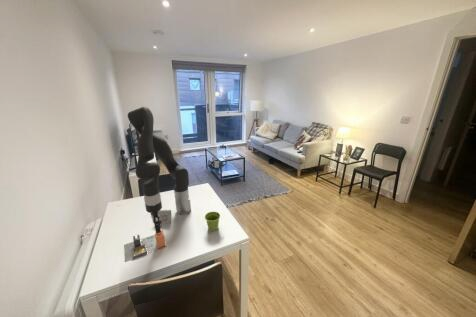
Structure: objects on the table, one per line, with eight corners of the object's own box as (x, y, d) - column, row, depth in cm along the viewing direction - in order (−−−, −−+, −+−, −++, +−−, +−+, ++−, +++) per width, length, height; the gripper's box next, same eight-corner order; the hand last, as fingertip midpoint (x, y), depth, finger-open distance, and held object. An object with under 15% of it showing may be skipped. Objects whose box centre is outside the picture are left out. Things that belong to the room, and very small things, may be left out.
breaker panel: (163, 234, 117) (162, 230, 116) (167, 248, 107) (166, 244, 106) (124, 246, 108) (123, 243, 107) (125, 264, 97) (124, 260, 96)
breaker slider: (140, 241, 110) (138, 233, 108) (141, 245, 106) (139, 237, 105) (134, 243, 108) (132, 235, 107) (135, 247, 105) (133, 239, 103)
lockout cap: (164, 240, 110) (162, 229, 108) (165, 245, 107) (163, 233, 104) (156, 243, 108) (154, 231, 106) (157, 248, 105) (155, 236, 103)
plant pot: (202, 230, 120) (201, 218, 117) (209, 221, 128) (209, 210, 125) (216, 234, 117) (216, 222, 114) (223, 224, 125) (222, 213, 122)
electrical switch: (156, 225, 125) (154, 212, 122) (159, 221, 130) (157, 208, 127) (171, 225, 125) (169, 212, 122) (173, 221, 130) (172, 208, 127)
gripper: (143, 196, 103) (147, 222, 108) (146, 210, 91) (151, 238, 96) (158, 192, 106) (162, 218, 112) (163, 205, 94) (167, 233, 100)
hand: (157, 227), depth 104 cm, fingers open, 8 cm apart
